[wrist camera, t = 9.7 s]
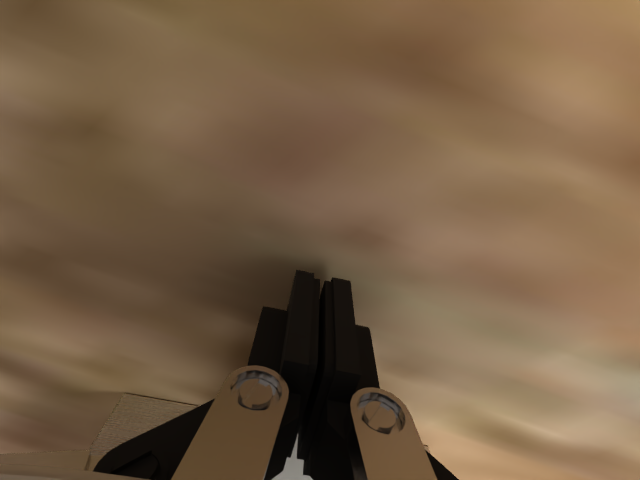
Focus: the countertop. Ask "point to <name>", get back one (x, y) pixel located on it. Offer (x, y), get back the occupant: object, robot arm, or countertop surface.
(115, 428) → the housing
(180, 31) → the countertop surface
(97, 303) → the countertop surface
